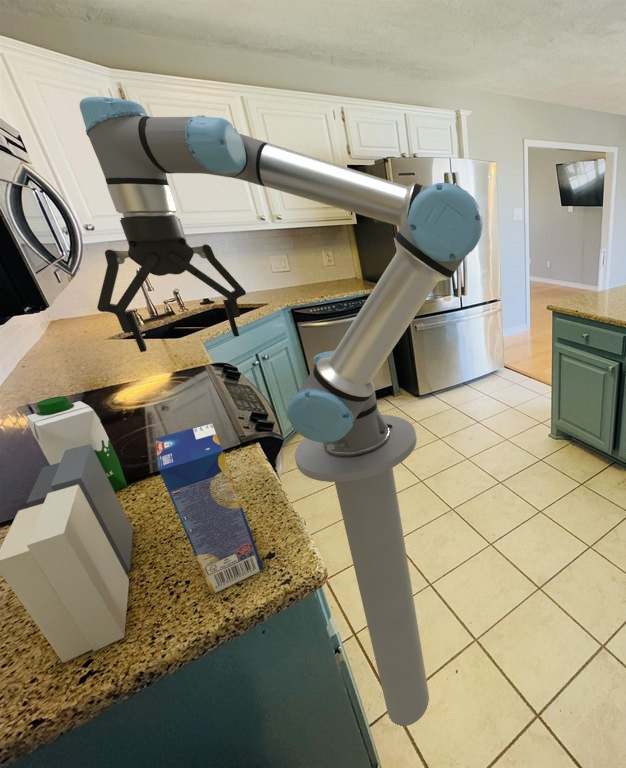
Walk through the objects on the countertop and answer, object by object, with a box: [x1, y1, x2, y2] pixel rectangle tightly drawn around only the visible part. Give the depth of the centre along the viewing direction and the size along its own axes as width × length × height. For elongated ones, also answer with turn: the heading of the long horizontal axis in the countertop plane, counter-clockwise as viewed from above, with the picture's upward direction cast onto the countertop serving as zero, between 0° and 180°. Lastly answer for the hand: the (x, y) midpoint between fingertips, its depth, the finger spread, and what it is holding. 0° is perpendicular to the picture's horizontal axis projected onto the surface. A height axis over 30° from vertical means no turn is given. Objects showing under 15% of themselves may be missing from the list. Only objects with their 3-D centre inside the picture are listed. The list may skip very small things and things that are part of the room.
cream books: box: [0, 485, 130, 664], centre depth 53 cm, size 6×12×18 cm, turn 39°
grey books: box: [25, 444, 134, 574], centre depth 63 cm, size 6×12×18 cm, turn 39°
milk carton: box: [26, 395, 128, 492], centre depth 80 cm, size 9×9×20 cm
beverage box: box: [155, 422, 265, 595], centre depth 62 cm, size 7×11×22 cm, turn 41°
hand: (192, 342), depth 74 cm, fingers open, 13 cm apart
